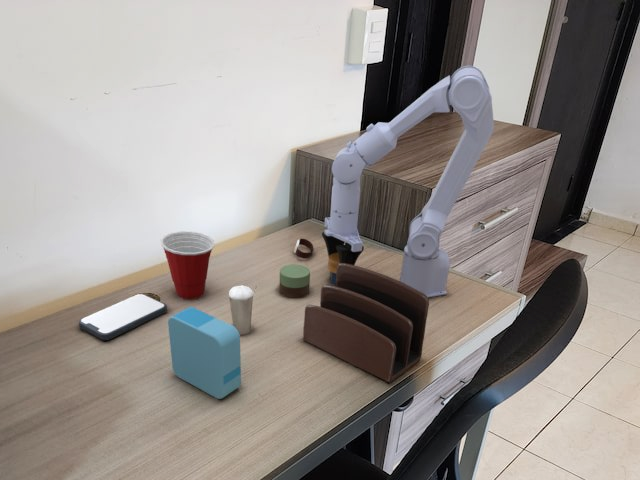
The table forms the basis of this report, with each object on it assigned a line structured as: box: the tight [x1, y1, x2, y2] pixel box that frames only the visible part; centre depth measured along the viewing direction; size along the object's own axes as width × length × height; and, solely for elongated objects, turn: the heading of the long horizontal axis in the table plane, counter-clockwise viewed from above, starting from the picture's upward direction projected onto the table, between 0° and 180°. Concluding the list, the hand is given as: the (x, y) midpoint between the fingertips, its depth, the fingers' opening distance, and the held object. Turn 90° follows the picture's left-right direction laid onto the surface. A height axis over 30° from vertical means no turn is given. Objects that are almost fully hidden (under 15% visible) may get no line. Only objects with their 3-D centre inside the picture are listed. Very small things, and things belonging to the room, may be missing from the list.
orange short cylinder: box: [327, 253, 340, 274], centre depth 134 cm, size 5×5×3 cm
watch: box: [293, 238, 315, 260], centre depth 147 cm, size 8×5×4 cm, turn 174°
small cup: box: [329, 271, 337, 286], centre depth 136 cm, size 4×4×3 cm
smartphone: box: [78, 293, 168, 341], centre depth 121 cm, size 9×2×16 cm
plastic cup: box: [160, 230, 216, 300], centre depth 128 cm, size 11×11×12 cm
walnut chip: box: [278, 281, 311, 299], centre depth 132 cm, size 6×6×2 cm
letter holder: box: [302, 263, 430, 384], centre depth 110 cm, size 10×20×14 cm, turn 47°
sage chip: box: [279, 263, 311, 288], centre depth 130 cm, size 6×6×2 cm
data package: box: [167, 306, 242, 400], centre depth 101 cm, size 12×4×12 cm, turn 51°
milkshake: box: [228, 283, 259, 336], centre depth 116 cm, size 5×5×10 cm
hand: (340, 269), depth 135 cm, fingers closed on orange short cylinder, 5 cm apart
